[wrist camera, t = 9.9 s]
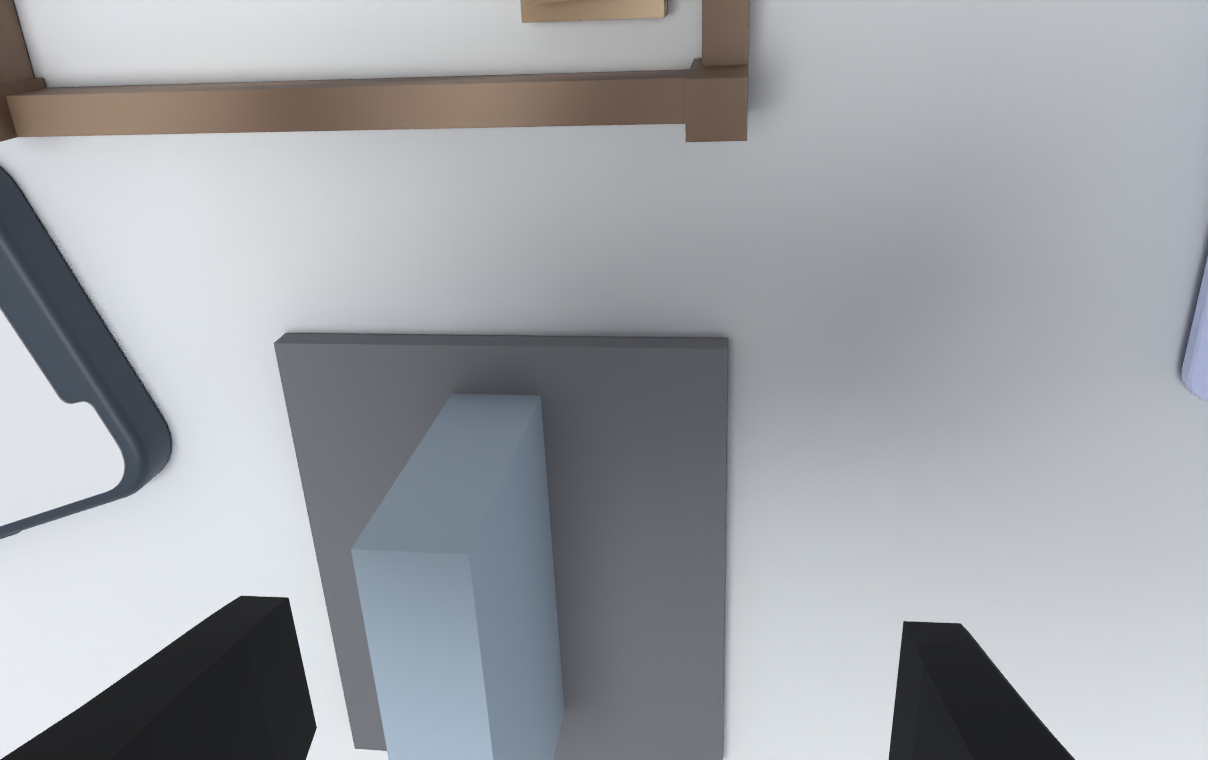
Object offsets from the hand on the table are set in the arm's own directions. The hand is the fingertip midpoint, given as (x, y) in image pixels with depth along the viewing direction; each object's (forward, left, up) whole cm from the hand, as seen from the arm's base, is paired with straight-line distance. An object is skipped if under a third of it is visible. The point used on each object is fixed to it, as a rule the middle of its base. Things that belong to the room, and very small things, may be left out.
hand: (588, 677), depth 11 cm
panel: (+4, +6, -10) cm, 12 cm away
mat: (+4, +6, -10) cm, 12 cm away
